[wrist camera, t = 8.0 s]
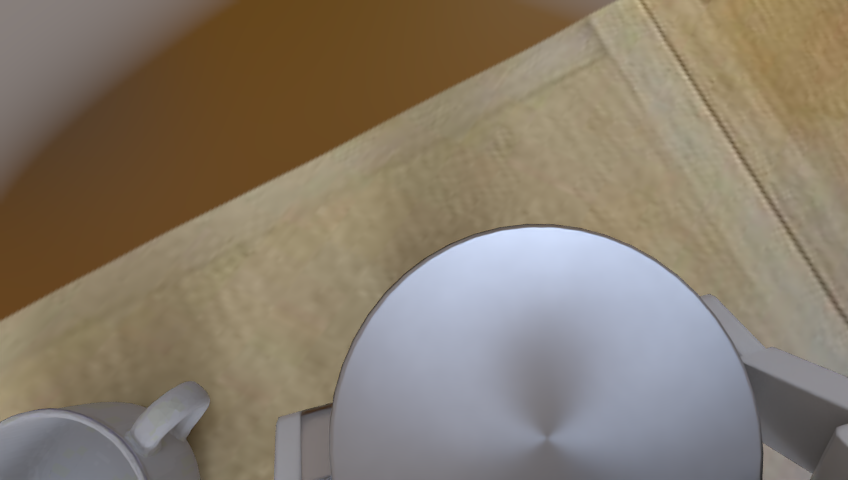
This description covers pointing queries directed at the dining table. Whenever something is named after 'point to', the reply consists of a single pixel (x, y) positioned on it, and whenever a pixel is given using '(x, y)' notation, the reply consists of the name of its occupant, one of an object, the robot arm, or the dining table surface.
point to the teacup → (105, 440)
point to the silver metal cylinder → (543, 370)
